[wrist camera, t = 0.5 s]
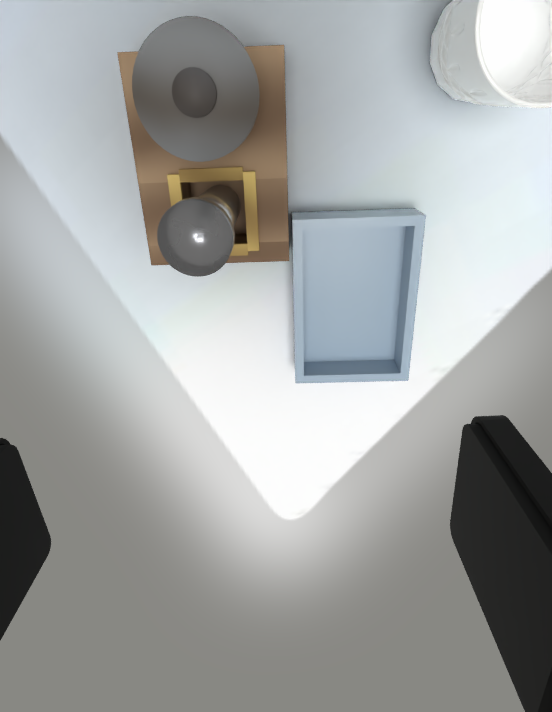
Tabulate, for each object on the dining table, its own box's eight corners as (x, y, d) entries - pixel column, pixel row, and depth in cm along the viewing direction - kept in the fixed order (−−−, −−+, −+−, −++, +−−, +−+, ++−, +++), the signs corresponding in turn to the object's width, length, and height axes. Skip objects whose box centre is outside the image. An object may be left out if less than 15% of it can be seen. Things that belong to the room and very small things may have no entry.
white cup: (428, 127, 33) (483, 128, 24) (411, -5, 29) (466, -61, 20) (543, 91, 32) (646, 78, 23) (539, -50, 28) (657, -131, 19)
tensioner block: (133, 42, 31) (89, 18, 24) (283, 36, 30) (283, 9, 23) (164, 251, 37) (136, 281, 30) (288, 247, 37) (289, 277, 30)
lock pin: (191, 178, 34) (151, 201, 24) (245, 176, 33) (229, 199, 23) (197, 234, 35) (162, 277, 25) (249, 232, 35) (235, 275, 25)
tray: (291, 212, 36) (292, 219, 33) (414, 208, 35) (425, 215, 32) (294, 365, 42) (295, 383, 39) (399, 363, 41) (408, 380, 38)
